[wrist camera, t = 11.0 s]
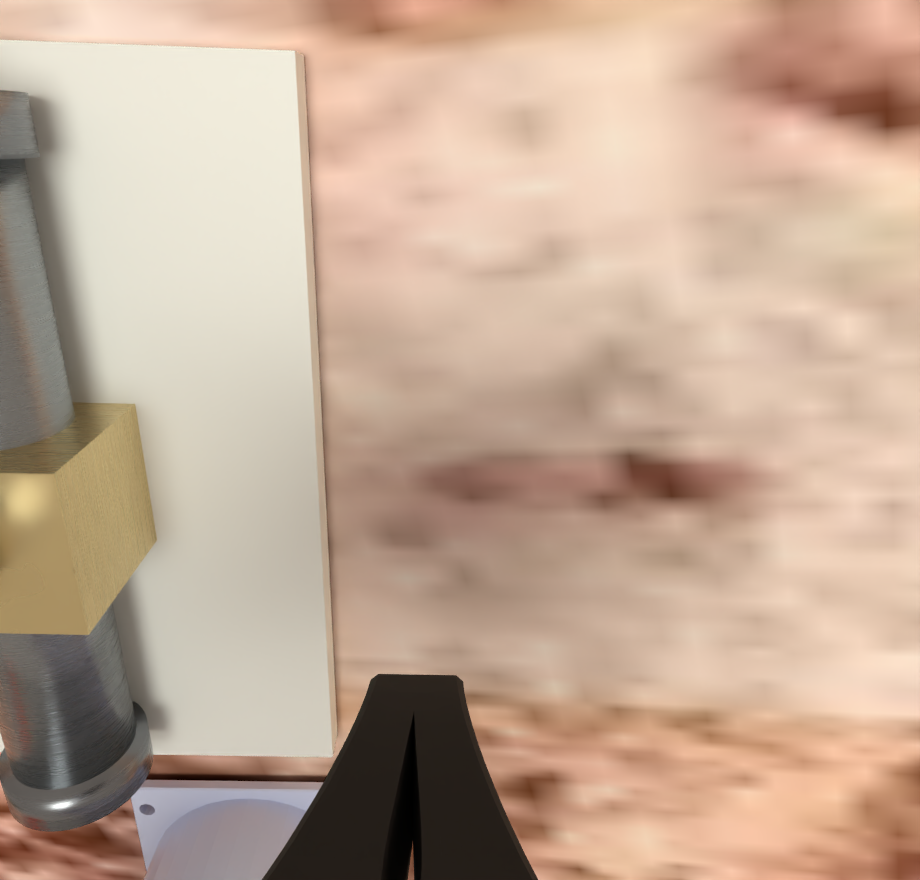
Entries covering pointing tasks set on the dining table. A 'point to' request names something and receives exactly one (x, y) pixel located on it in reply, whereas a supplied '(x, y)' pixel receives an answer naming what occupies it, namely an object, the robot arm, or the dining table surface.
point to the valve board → (198, 368)
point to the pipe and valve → (60, 543)
